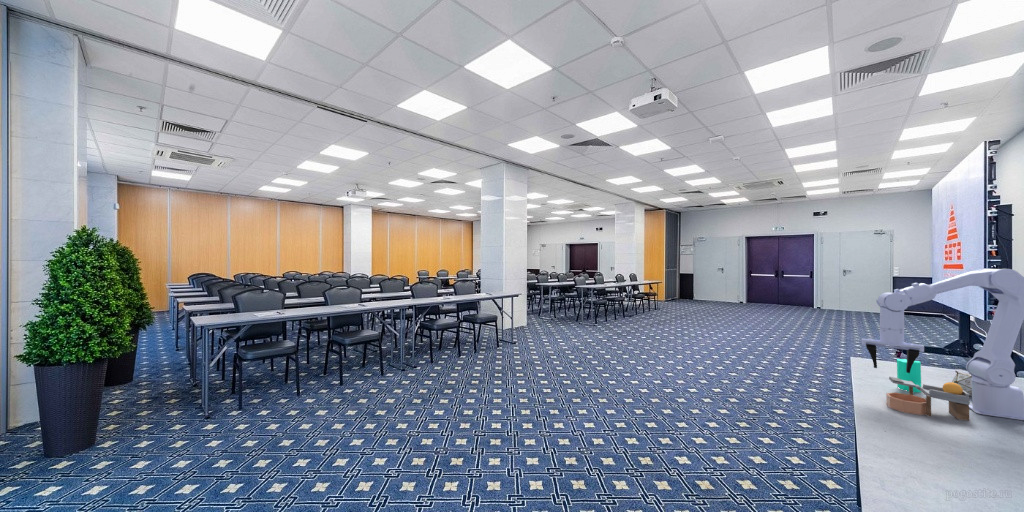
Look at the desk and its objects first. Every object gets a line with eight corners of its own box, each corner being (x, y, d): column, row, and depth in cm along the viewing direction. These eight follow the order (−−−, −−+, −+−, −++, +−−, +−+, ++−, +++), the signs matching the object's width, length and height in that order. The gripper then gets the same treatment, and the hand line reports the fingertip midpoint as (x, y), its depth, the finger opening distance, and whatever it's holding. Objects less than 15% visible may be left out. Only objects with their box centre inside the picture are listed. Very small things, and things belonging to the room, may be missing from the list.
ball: (954, 396, 115) (962, 385, 114) (960, 400, 112) (968, 389, 111) (937, 388, 117) (945, 378, 116) (942, 392, 114) (950, 381, 113)
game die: (972, 405, 131) (990, 382, 130) (984, 404, 124) (1002, 380, 124) (938, 387, 136) (955, 365, 136) (947, 385, 129) (965, 362, 129)
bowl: (923, 407, 120) (923, 396, 120) (934, 416, 113) (933, 405, 113) (884, 401, 125) (884, 390, 125) (892, 410, 118) (891, 399, 118)
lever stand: (947, 403, 123) (947, 385, 123) (972, 422, 108) (971, 401, 109) (909, 398, 128) (908, 380, 128) (927, 416, 113) (927, 396, 114)
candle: (926, 393, 133) (925, 358, 133) (906, 391, 134) (905, 358, 134) (912, 387, 139) (911, 354, 139) (893, 386, 140) (892, 354, 140)
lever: (948, 390, 122) (950, 381, 122) (969, 405, 110) (970, 395, 110) (888, 379, 130) (890, 370, 129) (901, 391, 117) (903, 381, 117)
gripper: (862, 327, 127) (861, 367, 127) (925, 333, 118) (925, 377, 118) (861, 324, 133) (861, 363, 133) (922, 330, 123) (922, 372, 123)
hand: (891, 369), depth 125 cm, fingers open, 7 cm apart
